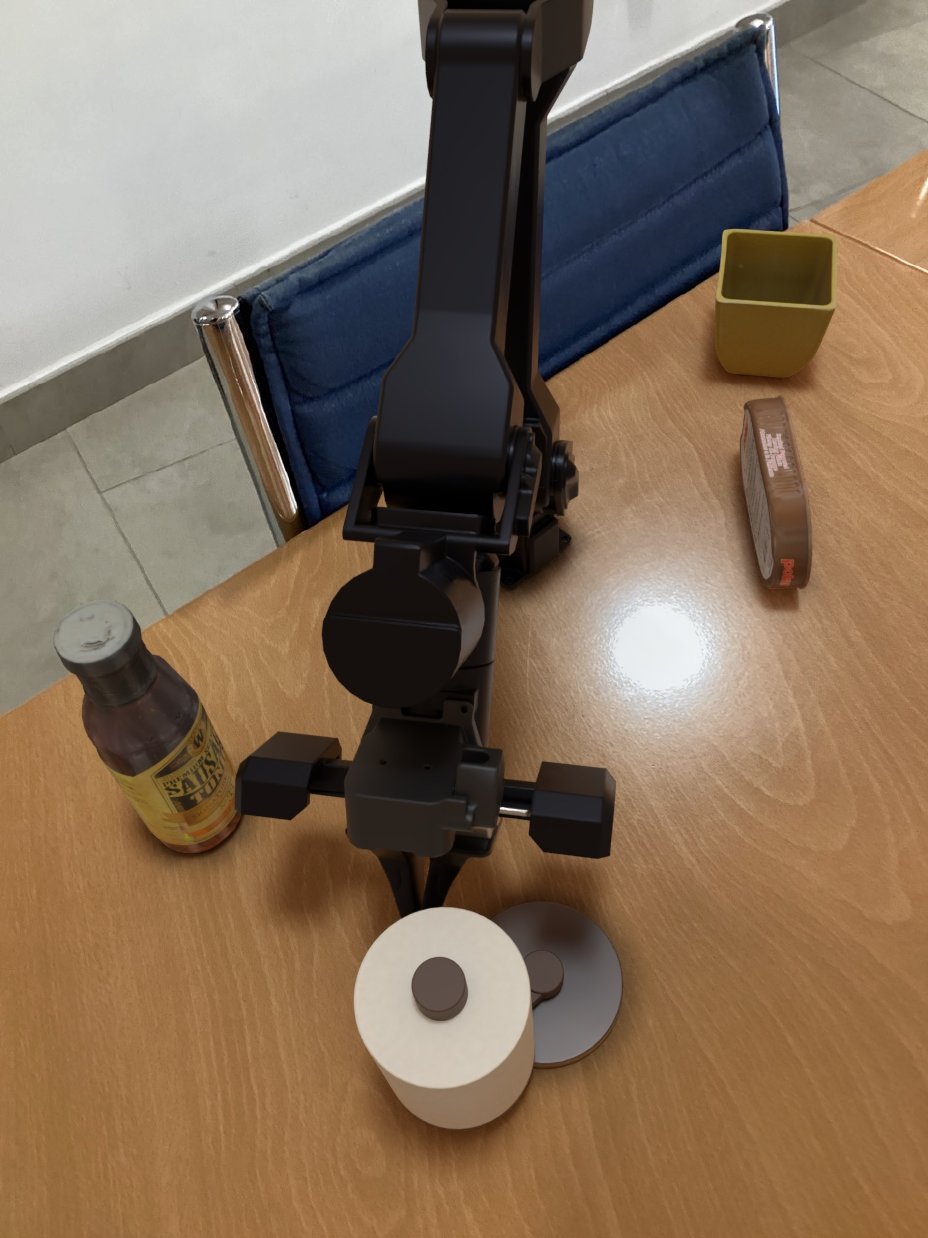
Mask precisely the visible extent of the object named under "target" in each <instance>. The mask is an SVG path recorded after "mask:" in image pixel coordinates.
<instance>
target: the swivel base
mask: <svg viewBox="0 0 928 1238" xmlns="http://www.w3.org/2000/svg"><path fill="white" fill-rule="evenodd" d="M490 920H491V921H492V922H494V923H495V924H496V925H498V926H499V927H500V928H501V929H502V930H503V931H504V932H505V933H506V934H507V935H508V936H509V937H510V938H511V939H512V941H513V942H514V944H515V945H516V946H517V948H518V950H519V952H520V953H521V955H522V957H523V960H524V958H525V957H526V956H527V955H528V954H529V953H531V952H533V951H536V950H547V951H550V952H552V953H554V954H555V955H556V956H557V957H558V958H559V959H560V960H561V962H562V965H563V968H564V981H563V985H562V987H561V989H560V990H559V992H558V993H557V994H556V995H554V996H552V997H550V998H547V999H541V1000H540V1001H539V1002H538V1003H537V1004H536V1005H535V1006H534V1007H533V1008H532V1015H533V1028H534V1040H535V1059H534V1066H533V1068H539V1069H551V1068H559V1067H564V1066H568V1065H571V1064H573V1063H575V1062H578V1061H579V1060H582V1059H584V1058H585V1057H586V1056H588V1055H590V1054H592V1052H594V1051H595V1050H596V1049H597V1048H598V1047H599V1046H600V1045H601V1044H602V1043H603V1042H604V1041H605V1040H606V1039H607V1037H608V1035H609V1034H610V1033H611V1031H612V1030H613V1028H614V1026H615V1024H616V1022H617V1019H618V1016H619V1014H620V1013H619V1012H620V1010H621V1006H622V1001H623V994H624V977H623V976H624V975H623V969H622V963H621V960H620V958H619V955H618V952H617V950H616V948H615V946H614V944H613V942H612V940H611V939H610V937H609V936H608V934H607V933H606V931H604V929H603V928H602V927H601V926H600V925H599V924H598V923H597V922H595V920H594V919H592V918H591V917H589V916H588V915H587V914H585V913H584V912H582V911H580V910H578V909H576V908H574V907H572V906H569V905H566V904H563V903H559V902H554V901H545V900H542V901H539V900H538V901H529V902H523V903H519V904H515V905H513V906H511V907H509V908H506V909H504V910H503V911H501V912H499V913H498V914H496V915H494V916H493V917H492V918H491V919H490Z"/></svg>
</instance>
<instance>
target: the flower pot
mask: <svg viewBox="0 0 928 1238" xmlns="http://www.w3.org/2000/svg"><path fill="white" fill-rule="evenodd" d="M838 250H839V242H838V238H837V236H836V235H834V234H827V233H826V234H825V233H815V232H814V233H812V232H795V231H794V232H791V231H790V232H789V231H776V230H775V231H771V230H758V229H743V228H731V229H724V230H723V232H722V235H721V253H720V264H719V270H718V278H717V285H716V292H715V301H714V330H713V331H714V334H713V337H714V338H713V339H714V341H713V342H714V343H713V344H714V349H715V353H716V356H717V359H718V362H719V363H720V364H721V366H722V367H723V368H724V370H725V371H726V372H727V373H729V374H733V375H745V376H758V377H770V378H779V379H780V378H781V379H787V378H790V377H792V376H795V374H798V373H799V372H801V371H802V370H803V369H804V368H805V367H806V366H807V365H808V364H810V362H811V361H812V360H813V358H814V357H815V356H816V354H817V352H818V351H819V350H820V349H819V348H820V346H821V344H822V342H823V340H824V337H825V335H826V332H827V330H828V328H829V325H830V323H831V321H832V319H833V316H834V313H835V311H836V309H837V306H838V252H839V251H838Z"/></svg>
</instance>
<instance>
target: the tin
mask: <svg viewBox="0 0 928 1238" xmlns="http://www.w3.org/2000/svg"><path fill="white" fill-rule="evenodd" d="M790 412H791V411H790V408H789V405H788V402H787V399H786V398H785V396H783V395H777V396H775V397H766V398H755V399H750V400H747V401H746V402H745V403H744V404H743V419H742V420H743V421H742V431H741V433H740V438H739V459H740V461H739V463H740V477H741V483H742V490H743V491H742V492H743V496H744V502H745V508H746V513H747V520H748V526H749V531H750V537H751V542H752V548H753V552H754V556H755V557H754V558H755V563H756V567H757V572H758V575H759V578H760V581H761V583H762V585H763V587H765V588H766V589H769V590H787V589H800V590H804V589H805V588H806V587H807V586H808V584H809V582H810V578H811V574H812V573H811V572H812V565H813V541H814V539H813V522H812V512H811V504H810V497H809V492H808V487H807V483H806V478H805V474H804V471H803V465H802V461H801V455H800V453H799V448H798V443H797V439H796V434H795V429H794V426H793V421H792V416H791V413H790Z"/></svg>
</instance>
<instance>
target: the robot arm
mask: <svg viewBox="0 0 928 1238" xmlns="http://www.w3.org/2000/svg"><path fill="white" fill-rule="evenodd" d="M594 3H595V1H594V0H417V10H418V11H417V12H418V23H419V37H420V48H421V49H420V50H421V59H422V60H423V61H424V68H425V81H426V87H427V91H428V95H429V98H431V99H432V100H431V112H430V125H429V136H428V149H427V159H426V169H425V171H426V173H425V182H424V183H425V184H424V195H423V207H422V217H421V218H422V219H421V232H420V242H419V255H418V264H417V265H418V266H417V269H418V270H417V276H416V277H417V278H416V289H415V291H416V292H415V303H414V304H415V305H414V314H413V320H412V328H411V329H412V330H411V336H410V337H409V339H408V340H407V342H406V343H405V345H404V346H403V347H402V349H401V350H400V352H399V353H398V354H397V356H395V358H394V359H393V361H392V362H391V364H390V365H389V367H388V368H387V369H386V371H385V372H384V374H383V375H382V378H381V383H380V389H379V390H380V391H379V397H378V405H377V414H376V415H373V416H372V417H371V418H370V420H369V421H368V424H367V427H366V431H365V434H364V438H363V442H362V447H361V449H360V450H361V451H360V455H359V459H358V462H357V466H356V471H355V476H354V480H353V484H352V488H351V493H350V496H349V500H348V504H347V508H346V513H345V517H344V521H343V525H342V530H341V532H342V533H341V537H342V540H343V541H346V542H347V541H348V542H359V543H369V544H373V556H372V557H373V558H372V561H373V562H372V567H371V568H369V569H367V570H365V571H362V572H361V573H359V574H357V575H355V576H353V577H352V578H351V579H350V580H348V581H347V582H346V583H345V584H343V586H341V587H340V588H339V589H338V591H337V592H336V594H334V597H333V598H332V599H331V601H330V603H329V606H328V608H327V611H326V614H325V615H324V617H323V620H322V626H321V643H322V650H323V654H324V657H325V660H326V662H327V665H328V668H329V669H330V671H331V672H332V674H333V675H334V678H335V679H336V680H337V682H338V683H339V684H340V685H341V686H342V687H344V689H346V690H347V691H348V693H350V695H353V696H354V697H356V698H357V699H359V700H361V701H362V702H364V703H366V704H370V705H371V713H370V716H369V718H368V720H367V723H366V726H365V728H364V731H363V733H362V736H361V737H360V742H359V745H358V747H357V748H356V749H357V750H356V752H355V754H354V756H353V759H352V760H349V759H342V757H343V748H342V745H341V742H340V740H339V738H338V737H333V736H325V735H315V734H307V733H306V734H305V733H299V732H288V731H282V730H281V731H280V730H278V731H276V732H275V733H274V734H273V735H272V736H271V737H269V738H268V739H267V740H266V741H265V742H263V743H262V744H261V745H260V746H259V747H258V748H256V749H255V750H254V751H252V753H251V754H249V755H248V756H247V757H246V758H245V759H243V760H242V761H241V762H240V763H239V765H238V769H237V771H236V778H235V807H234V809H235V810H236V811H238V812H239V813H240V814H241V815H243V816H244V815H245V816H253V817H259V818H267V819H268V818H269V819H275V820H283V821H292V820H293V819H295V818H296V817H297V816H298V815H299V814H301V813H302V812H303V811H304V810H305V809H307V808H308V806H309V805H310V804H311V795H316V796H324V797H331V798H341V799H344V804H345V819H346V828H345V830H344V833H345V836H346V838H347V840H348V842H349V844H351V845H352V846H353V847H354V848H357V849H360V850H365V851H370V852H371V853H373V854H374V856H375V857H376V858H377V860H378V862H379V863H380V866H381V868H382V871H383V872H384V875H385V877H386V879H387V881H388V884H389V886H390V889H391V892H392V895H393V899H394V902H395V905H396V909H397V912H398V915H399V918H400V919H402V918H404V917H406V916H408V915H410V914H412V913H415V912H418V911H421V910H425V909H429V908H438V907H444V905H445V902H446V899H447V897H448V894H449V891H450V889H451V888H452V886H453V884H454V882H455V880H456V878H457V877H458V876H459V873H461V870H462V868H463V867H464V865H465V864H466V863H467V861H468V860H469V859H470V858H471V859H472V858H474V859H484V858H487V857H489V856H491V855H492V852H493V849H494V847H495V844H496V842H497V839H498V836H499V833H500V830H501V827H502V824H503V821H504V819H512V820H521V821H529V823H528V824H529V825H528V836H529V838H530V839H531V840H532V841H533V842H534V843H535V845H537V847H538V848H539V850H541V851H542V852H543V853H545V854H546V853H547V854H554V855H561V856H570V857H576V858H586V859H594V860H599V859H604V858H607V857H610V856H611V850H612V849H611V848H612V840H613V839H612V838H613V829H614V818H615V808H616V807H615V806H616V794H617V793H616V791H617V780H616V779H615V778H614V776H613V775H612V774H611V772H610V771H609V769H608V768H606V767H599V766H589V765H580V764H572V763H564V762H563V763H562V762H553V761H546V760H541V763H540V765H539V770H538V773H537V776H536V780H535V781H529V780H522V779H513V778H506V777H505V757H504V750H503V749H501V748H496V747H489V738H490V728H491V727H490V726H491V714H492V712H491V711H492V700H493V699H492V697H493V685H494V671H495V653H496V643H497V642H496V639H497V627H498V611H499V598H500V597H499V596H500V586H501V587H503V588H504V589H506V590H509V591H510V590H514V589H516V588H517V587H519V585H521V584H522V583H524V581H526V580H527V579H529V578H530V577H531V576H533V575H536V574H537V573H539V572H540V571H541V570H543V569H544V568H545V567H546V566H548V565H549V564H551V563H552V562H553V561H555V559H557V558H558V557H559V556H560V554H561V553H562V552H564V551H565V550H566V549H567V548H568V547H570V546H571V545H572V536H571V535H570V533H568V532H567V531H565V530H564V529H563V528H561V527H560V525H559V524H560V523H559V522H560V520H559V518H558V517H565V515H566V510H568V509H569V503H570V501H572V500H574V499H576V498H577V497H578V496H579V490H580V471H579V469H578V467H577V465H576V464H575V461H576V456H575V455H574V454H573V452H574V440H566V439H565V440H564V439H560V432H561V431H560V429H561V428H560V427H561V408H560V406H559V404H558V403H557V401H556V399H555V398H554V396H553V394H552V392H551V391H550V389H549V387H548V386H547V384H546V382H545V381H544V379H543V377H542V375H541V373H540V372H539V370H538V368H539V342H540V339H539V338H540V319H541V318H540V316H541V315H540V314H541V293H542V289H541V287H542V266H543V262H542V261H543V239H544V238H543V237H544V216H545V215H544V212H545V211H544V210H545V188H546V187H545V185H546V181H545V180H546V161H547V137H548V136H547V135H548V134H547V133H548V116H549V114H550V112H551V111H552V109H553V107H554V105H555V104H556V102H557V100H558V99H559V97H560V95H561V93H562V92H563V90H564V88H565V86H566V85H567V83H568V81H569V79H570V78H571V76H572V74H573V73H574V71H575V69H576V67H577V65H578V63H580V62H582V60H583V59H584V56H585V53H586V49H587V45H588V40H589V36H590V33H591V29H592V22H593V14H594V5H595V4H594ZM382 495H383V498H384V499H383V500H384V502H385V506H378V505H379V502H380V500H381V497H382ZM508 582H510V583H508ZM426 858H427V859H428V858H429V865H428V870H427V875H426V878H425V871H426V870H425V859H426ZM425 879H426V881H425Z"/></svg>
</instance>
